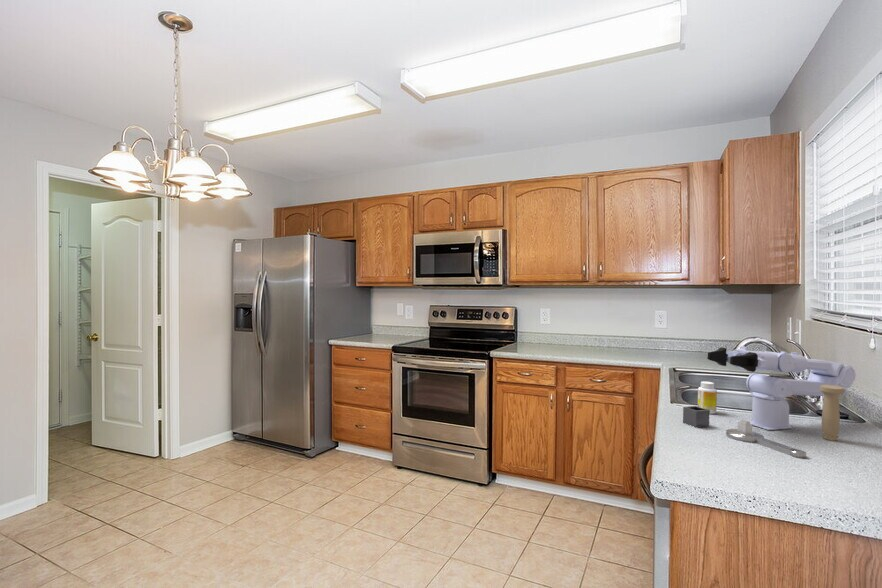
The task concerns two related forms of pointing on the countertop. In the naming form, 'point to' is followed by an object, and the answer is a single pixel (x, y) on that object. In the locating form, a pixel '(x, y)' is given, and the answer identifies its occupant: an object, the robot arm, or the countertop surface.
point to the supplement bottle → (707, 396)
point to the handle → (831, 411)
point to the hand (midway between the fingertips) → (719, 358)
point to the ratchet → (761, 439)
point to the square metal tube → (696, 416)
